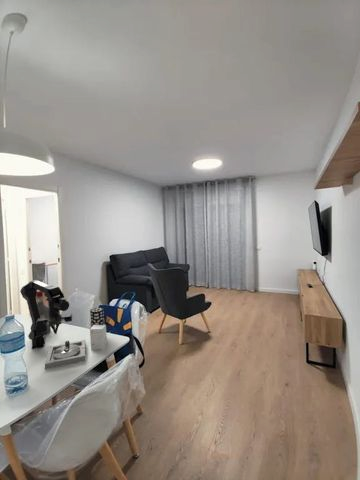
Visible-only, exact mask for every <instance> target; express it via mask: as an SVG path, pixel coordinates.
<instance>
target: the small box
mask: <svg viewBox="0 0 360 480" xmlns="http://www.w3.org/2000/svg"><path fill="white" fill-rule="evenodd" d="M89 337H90V338H89V339H90V350H92V351H93V350H104V349H106V347H107V345H108V337H107V325H106V324H104V325H93V326H92V327H91V326H90V329H89Z"/></svg>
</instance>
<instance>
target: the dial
mask: <svg viewBox="0 0 360 480" xmlns="http://www.w3.org/2000/svg"><path fill="white" fill-rule="evenodd" d="M70 343H71V342H70V340H65V341H64V344H65V346H62V347H60V348H58V349H56V350H55V351H54V353H53V357H54V358H55V359H57V360H58V359H63V358H68V357H73V356H76V355H77V354H78V353H79V352H80V347H79V346H78V345H74V344H71V345H70Z"/></svg>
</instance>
